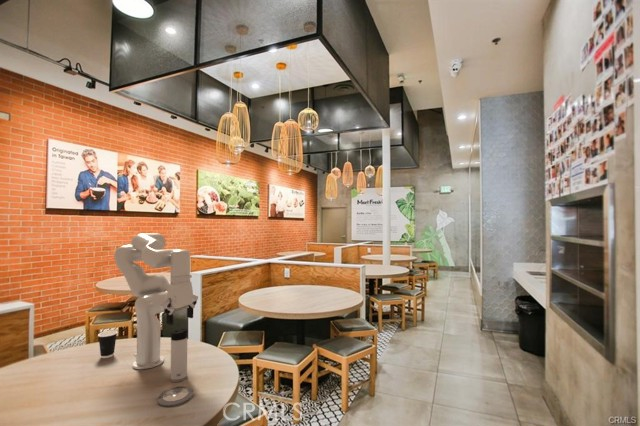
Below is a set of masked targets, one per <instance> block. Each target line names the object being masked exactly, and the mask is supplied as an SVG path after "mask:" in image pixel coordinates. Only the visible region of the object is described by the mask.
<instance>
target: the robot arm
mask: <svg viewBox="0 0 640 426" xmlns="http://www.w3.org/2000/svg"><path fill="white" fill-rule="evenodd" d="M130 242H131V243H130V244H127V245H126V244H125V245H121V246H119V247H117V249H115V251H114V263H115V265H116V267H117V269H118V270H119V271H120V273H121V274H122V276H124V278H125V280H126V283H127V285H128V287H129V290H130V291H131V294H132V295H133V296H134V297H136V298H137V299H136V300H135V302H134V309H135V315H136V353H134V354H133V357H135V361H133V363H132V368H133V369H135V370H148V369H151V368H152V369H153V368H155V367H158V366H160V365H161V364H162V363H164V361H165V358H164V356H163V355H161V321H160V320H159V318H158V317H157V316H156V315H157V314H160V313H164V314H165V315H166V324H167V325H170V326H171V325H174V314H173V313H174V311H175V310H177V309H180V308H185V307H187V308H186V317H187V319H193V318H194V309H195V308H196V305H197V302H198V300H199V296H198V295H195V294H194V291H193V284H192V281H191V279H192V275H191V253H190V250H189V249H180V248H168V249H165V246H166V237H165V236H164V235H163V234H162V233H158V232H151V233H148V232H147V233H139V234H136V235H134V236H133V237H132V239H131V241H130ZM140 261H143V263H144V264H145V265H146V266H148V267H150V268H153V269H159V268H160V269H161V268H168V267H170V283H169V281H168V279H167V278H166V277H165V276H164V275H163V274H153V275H148V274H147V272H146V271H145V269H144V268H143V267H142V266H140V265H139V264H137V263H136V262H140Z"/></svg>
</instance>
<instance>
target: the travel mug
mask: <svg viewBox="0 0 640 426" xmlns="http://www.w3.org/2000/svg"><path fill="white" fill-rule="evenodd" d="M187 378H188V329H187V328H181V329H180V328H179V329H177V330H175V331H173V332H171V334H170V381H171V382H172V383H180V382H183V381H186V379H187Z"/></svg>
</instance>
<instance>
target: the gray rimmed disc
mask: <svg viewBox="0 0 640 426" xmlns="http://www.w3.org/2000/svg"><path fill="white" fill-rule="evenodd" d="M193 396H194V389H193V388H192V387H191V386H187V385H185V386H184V385H183V386H182V385H180V386H179V385H178V386H175V387H170V388H167V389H166V390H164V391H162V392H161V393H160V394H159V395H158V396H157V404H158V405H159V406H160V407H163V408H172V407H177V406H180V405H182V404H183V405H184V404H186V403H187V402H189V401H190V400H191V399H192V398H193Z"/></svg>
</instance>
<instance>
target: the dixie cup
mask: <svg viewBox="0 0 640 426" xmlns="http://www.w3.org/2000/svg"><path fill="white" fill-rule="evenodd" d="M117 333H118V331H117V330H107V331H102V332H100V333H98V334H97V337H98V343H99V351H100V357H101V359H108V358H112V357H113V356H114V354H115V349H116V341H117V335H118V334H117Z"/></svg>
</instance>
